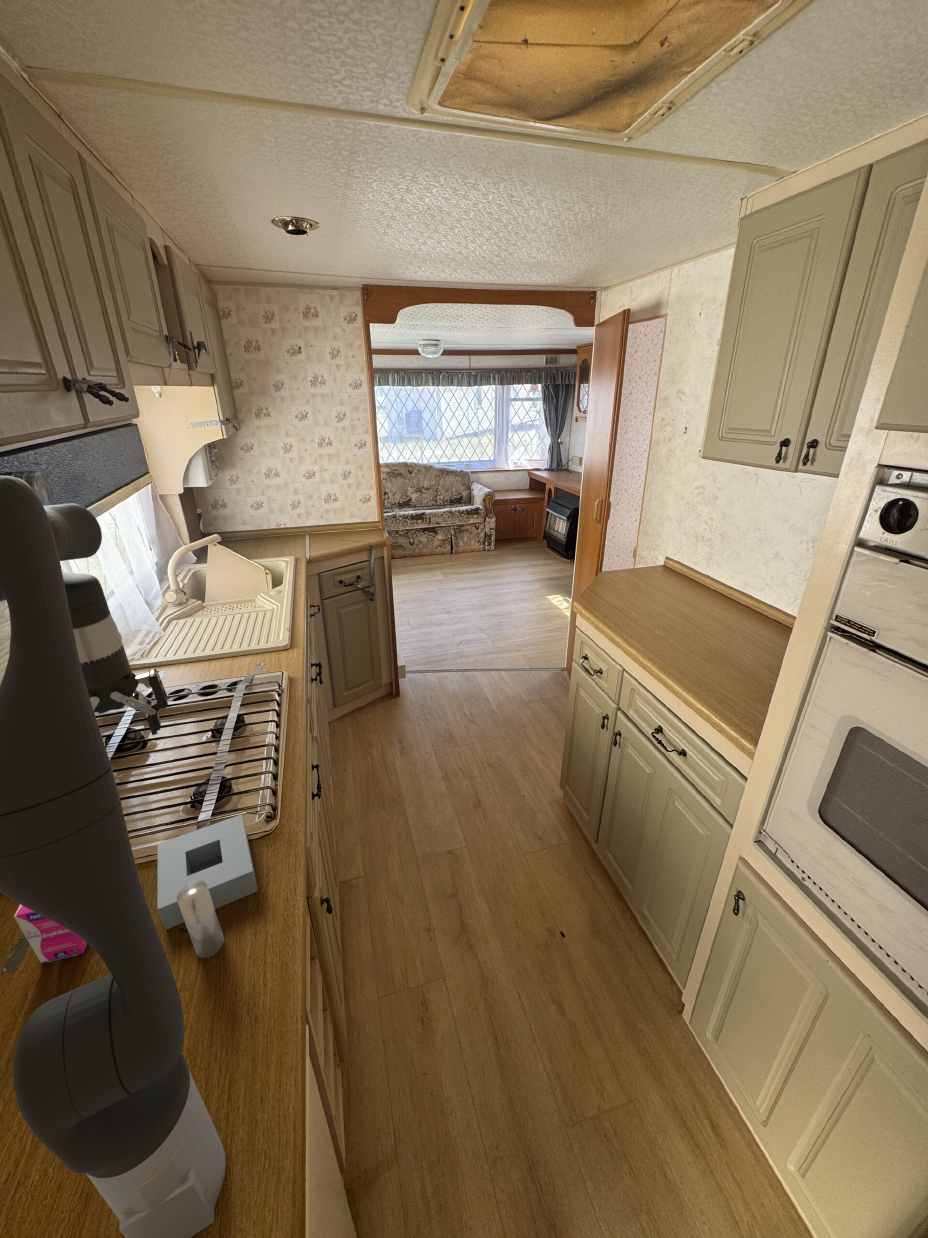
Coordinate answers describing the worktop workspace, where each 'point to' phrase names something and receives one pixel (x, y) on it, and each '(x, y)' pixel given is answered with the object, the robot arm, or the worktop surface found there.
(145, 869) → the worktop surface
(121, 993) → the robot arm
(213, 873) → the bore block
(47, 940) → the supplement box
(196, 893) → the pin
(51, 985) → the worktop surface
